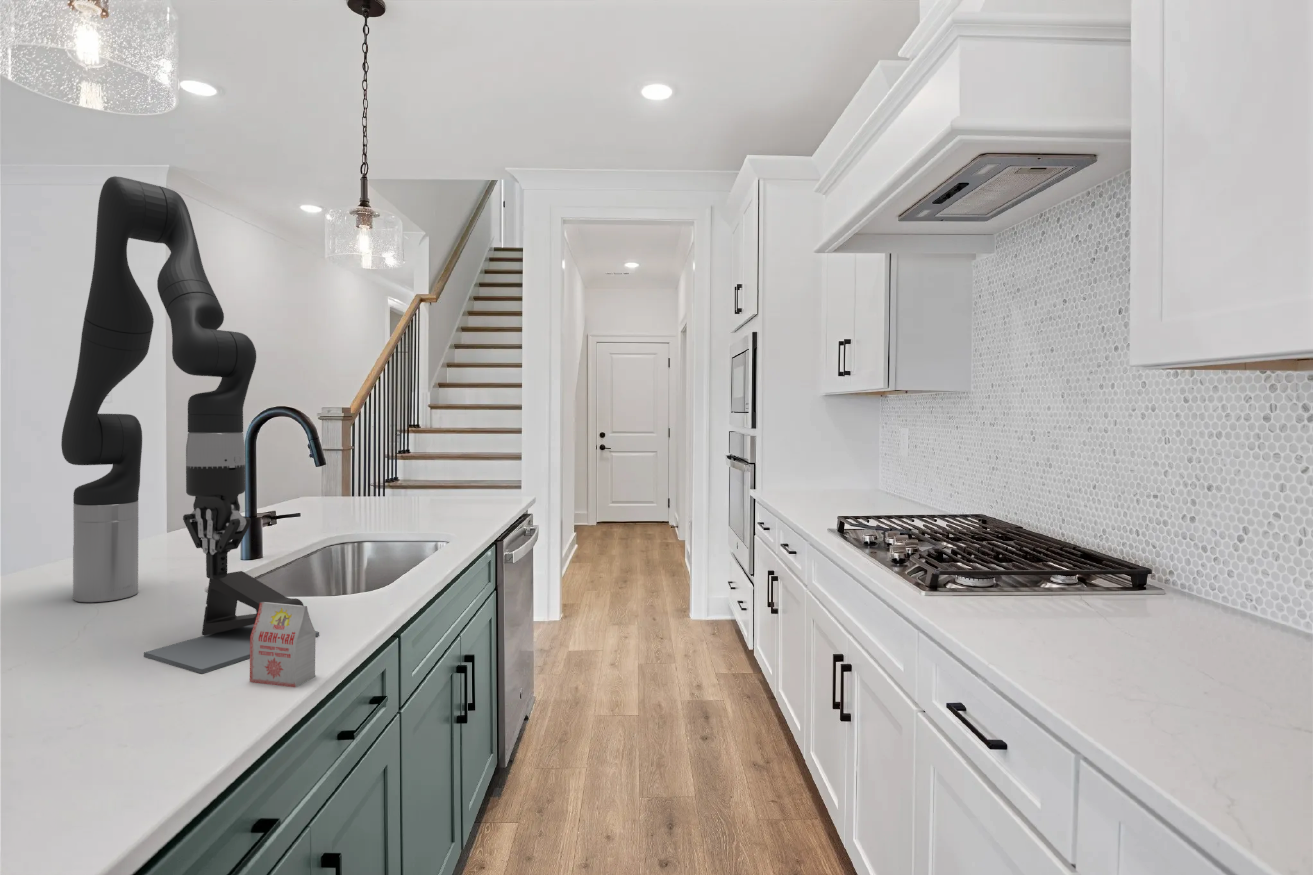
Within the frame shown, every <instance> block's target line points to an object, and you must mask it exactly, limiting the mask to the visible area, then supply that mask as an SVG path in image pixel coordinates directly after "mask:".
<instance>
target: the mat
mask: <svg viewBox="0 0 1313 875" xmlns="http://www.w3.org/2000/svg"><path fill="white" fill-rule="evenodd" d="M253 627H254V624H253V625H249V626H244V627H240V628H236V629H231V630H227V631H222V632H218V633H214V634H209V635H205V636H203V635H202V636H198V637H194V638H190V639H187V640H184V641H179V642H176V643H173V644H169V645H166V646H162V647H158V648H154V649H151V650H148V651H144V652H143V657H144V658H148V659H151V660H154V661H158V662H160V663H163V664H168V665H170V666H175V667H178V668H180V669H185V670H188V671H192V672H194V673H197V674H198V673H199V674H201V675H203V674H205V673H209V672H212V671H215V670H218V669H221V668H223V667H228V666H230V665H233V664H236V663H240V662H243V661H245V660H250V636H251V633H252V630H253ZM315 633H316V638H317V637H319V636H320V631H316V630H315Z"/></svg>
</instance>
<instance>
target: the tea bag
mask: <svg viewBox="0 0 1313 875" xmlns="http://www.w3.org/2000/svg"><path fill="white" fill-rule="evenodd" d="M308 610H309V609H308V606H307V605H304V606H300V605H290V604H279V603H269V602H262V603H260V605H259V610H258V614H257V617H256V621H255V624H254V627H253V630H252V633H251V636H250V658H249V683H256V684H257V683H258V684H264V685H265V684H266V685H272V686H273V685H274V686H281V687H291V688H298V687H299V686H301V685H302V684H304V683H306V682H308V681H310V680H312V679H313V678H315V677H316V638H317V637H316V633H315V631H316V630H315V627H314V625H313V622H312V619H311V618H310V614H309V611H308Z"/></svg>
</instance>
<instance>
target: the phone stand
mask: <svg viewBox="0 0 1313 875" xmlns="http://www.w3.org/2000/svg"><path fill="white" fill-rule="evenodd" d="M205 602H206V603H205V604H206V606H205V609H204V616H203V623H202V630H201V635H202V636H205V635H209V634H214V633H218V632H222V631H227V630H231V629H236V628H240V627H244V626H249V625H253V624H255V621H256V617H257V614H258V610H259V605H260V603H262V602H269V603H279V604H290V605H300V606H305V605H304V603H303V601H302V600H300V599H299V598H289V597H287V596H285V595H284V594H282V593H280V592H278V591H277V590H275V589H273V588H271V587H269V586H267V584H264V583H263V582H262V581H260V580H258V579H256V578H255V577H253V576H251V575H249V574H248V573H247V572H244V571H243V570H239V571H238V570H237V571H232V572H227V576H226V577H224V578H219V579H210V578H209V582H208V587H207V594H206V601H205ZM238 602H240V603H241V604H245V605H246V606H248V607H249V608H250V607H251V608H253V609H254V610H255V611H256V613H250V614H241V615H237V614H236V613H237V605H238Z"/></svg>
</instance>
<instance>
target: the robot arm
mask: <svg viewBox="0 0 1313 875" xmlns="http://www.w3.org/2000/svg"><path fill="white" fill-rule="evenodd" d="M130 239H131V240H138V241H143V242H149V243H155V244H164V245H165V246H166V247H167V248H168V250H169V251H170V254H169V257H168V258H167V260H166V261H165V263H164V264H163V265H162V268H160V271H159V273H158V276H157V284H156V286H157V292H158V295H159V297H160V301H161V303H162V305H163V307H164V310H165V311H166V313H167V315H168V318H169V320H170V327H171V336H172V337H171V339H172V341H171V342H172V344H171V345H172V346H171V354H172V360H173V362H174V364H175V365H176V367H177V368H179V369H180V370H181V371H182V372H184V373H185V374H187V375H190V376H191V375H192V376H199V377H213V378H221V380H220V382H219V384H218V385H217V387H216V389H214V390H211V391H204V392H198V393H194V394H192V395H191V396H190V397H189V398H188V401H187V439H186V440H187V441H186V446H185V492H186V494H187V495H188V496H190V497H194V501H193V506H192V507H193V511H192V512H191V513H186V514H183V516H182V520H183V523H184V525H185V526H186V529H187V531H188V534H189V535H190V537H191V540H192V541H193V544H194V546H195V548H196V549H201V550H202V552H203V554H205V564H206V565H205V570H206V571H205V572H206V575H205V577H206V578H208V579H209V580H210V579H219V578H224V577H226V576H227V573H228V553H230V552H231V551H232V550H237V549H238V548H239V547H240V544H241V543H242V541H243V539H244V538H245V535H246V533H247V531H248V529H249V527H250V526H251V524H252V519H251V518H250V517H244V516H243V515H242V514H241V512H240V511H241V505H240V502H239V495H242V494H244V493H245V492H246V444H245V438H244V404H245V401H246V397H247V393H248V391H249V390H248V389H249V386H250V382H251V379H252V376H253V373H254V371H255V367H256V363H257V349H256V348H255V344H254V343H253V341H252V339H251V338H250V337H249V336H248V335H246V334H244V333H242V332H238V331H232V330H231V331H230V330H224V329H223V330H222V329H221V330H220V328H221V326H223V323H224V321H225V313H224V310H223V308H222V305H221V304H220V301H219V300H218V298H217V295H216V293H215V291H214V290H213V287H212V285H211V283H210V281H209V279H208V276H207V275H206V272H205V269H204V265H203V262H202V258H201V253H200V249H199V245H198V240H197V238H196V234H195V229H194V225H193V222H192V218H191V214H190V212H189V208H188V207H187V204H186V202H185V200H184V199H183V197H182V196H181V194H180V193H178V192H177V191H175V190H173V189H171V188H168V187H165V186H162V185H157V184H152V183H148V182H145V181H140V180H135V179H132V178H128V177H122V176H115V175H114V176H110V177H108V178H107V179H106V180H105V182H104V183H103V185H102V187H101V191H100V194H99V199H98V207H97V218H96V233H95V247H94V249H95V250H94V263H93V270H92V277H91V283H90V288H89V293H88V298H87V303H86V309H85V312H84V318H83V324H82V329H81V330H82V331H81V336H80V339H81V340H80V348H79V354H78V355H79V357H78V362H77V369H76V375H75V376H76V377H75V381H74V384H73V389H72V393H71V397H70V401H69V404H68V408H67V412H66V415H65V420H64V423H63V428H62V432H61V433H62V434H61V451H62V452H61V453H62V456H63V458H64V460H65V461H66V462H67V463H69V464H70V465H74V466H104V465H105V466H106V465H112V467H111V469H110V471H109V472H108V473H107V474H105V475H103V476H102V477H100V478H98V479H95V480H93V481H91V482H87V483H84V484H82V485H78V486H77V487H75V489H74V490H73V494H72V495H73V501H72V502H73V510H72V511H73V513H72V514H73V545H72V546H73V547H72V596H73V601H75V602H79V603H100V602H101V603H102V602H108V601H109V602H110V601H116V600H123V599H125V598H130V597H133V596H135V595H137V594H138V593H139V492H140V485H141V464H142V463H141V462H142V452H143V430H142V425H141V423H140V421H139V419H138V418H137V416H135V415H133V414H127V413H99V412H100V409H101V407H102V404H103V403H104V400H105V399H106V397H107V396H108V395H109V394H110V392H111V391H112V390H113V389H114V388H115V387H117V385H118V384H120V383H121V382H122V381H123V380H124V379H125V378H127V377H128V376H129V375H131V373H132V372H134V370H135V369H137V368H138V366H139V365H140V364H141V363H143V361H144V360H145V358H146V357H147V355H148V353H149V349H150V344H151V338H152V334H153V329H154V323H155V321H154V316H153V311H152V309H151V307H150V304H149V302H148V301H147V299H146V297H145V295H144V294H143V292H142V290H141V289H140V287H139V286H138V283H137V282H136V279H135V278H134V276H133V274H132V270H131V269H130V266H129V262H128V261H129V260H128V243H129V242H128V241H129V240H130Z"/></svg>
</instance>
